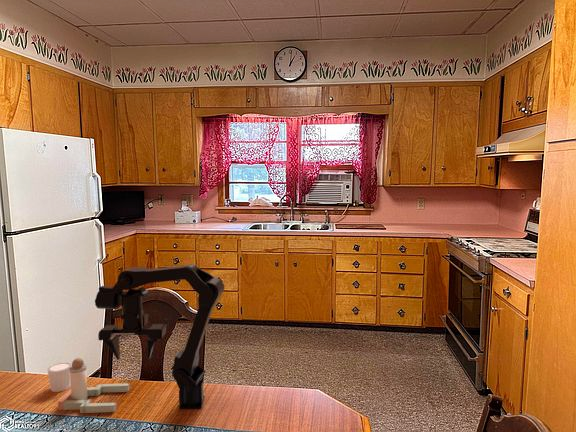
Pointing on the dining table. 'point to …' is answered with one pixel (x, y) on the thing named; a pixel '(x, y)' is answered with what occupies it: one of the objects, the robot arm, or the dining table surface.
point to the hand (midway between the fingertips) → (133, 359)
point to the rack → (86, 405)
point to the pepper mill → (78, 380)
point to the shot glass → (59, 376)
